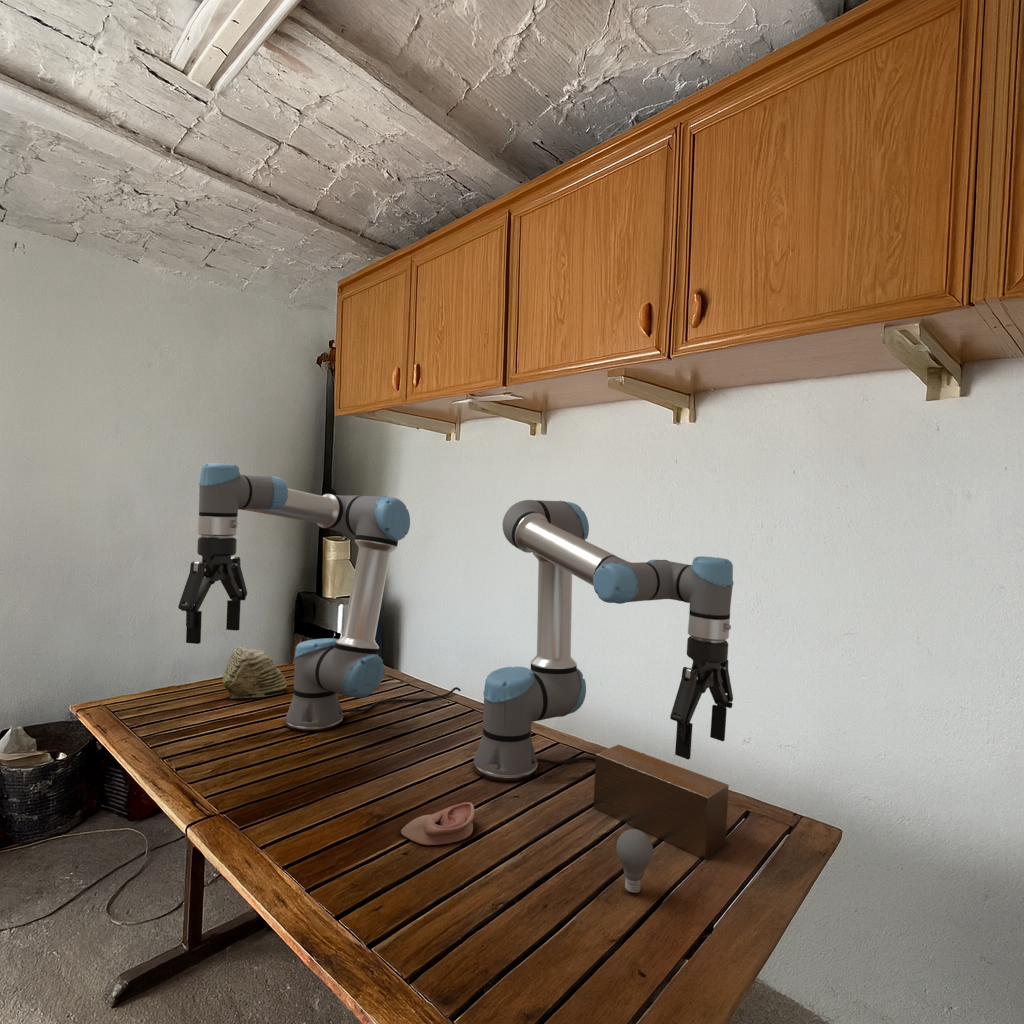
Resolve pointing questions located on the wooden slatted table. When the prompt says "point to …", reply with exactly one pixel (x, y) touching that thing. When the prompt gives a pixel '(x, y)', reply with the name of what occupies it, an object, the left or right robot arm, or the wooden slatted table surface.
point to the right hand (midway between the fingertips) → (700, 747)
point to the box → (662, 799)
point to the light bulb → (634, 857)
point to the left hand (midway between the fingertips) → (214, 636)
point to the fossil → (252, 674)
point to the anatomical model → (442, 825)
